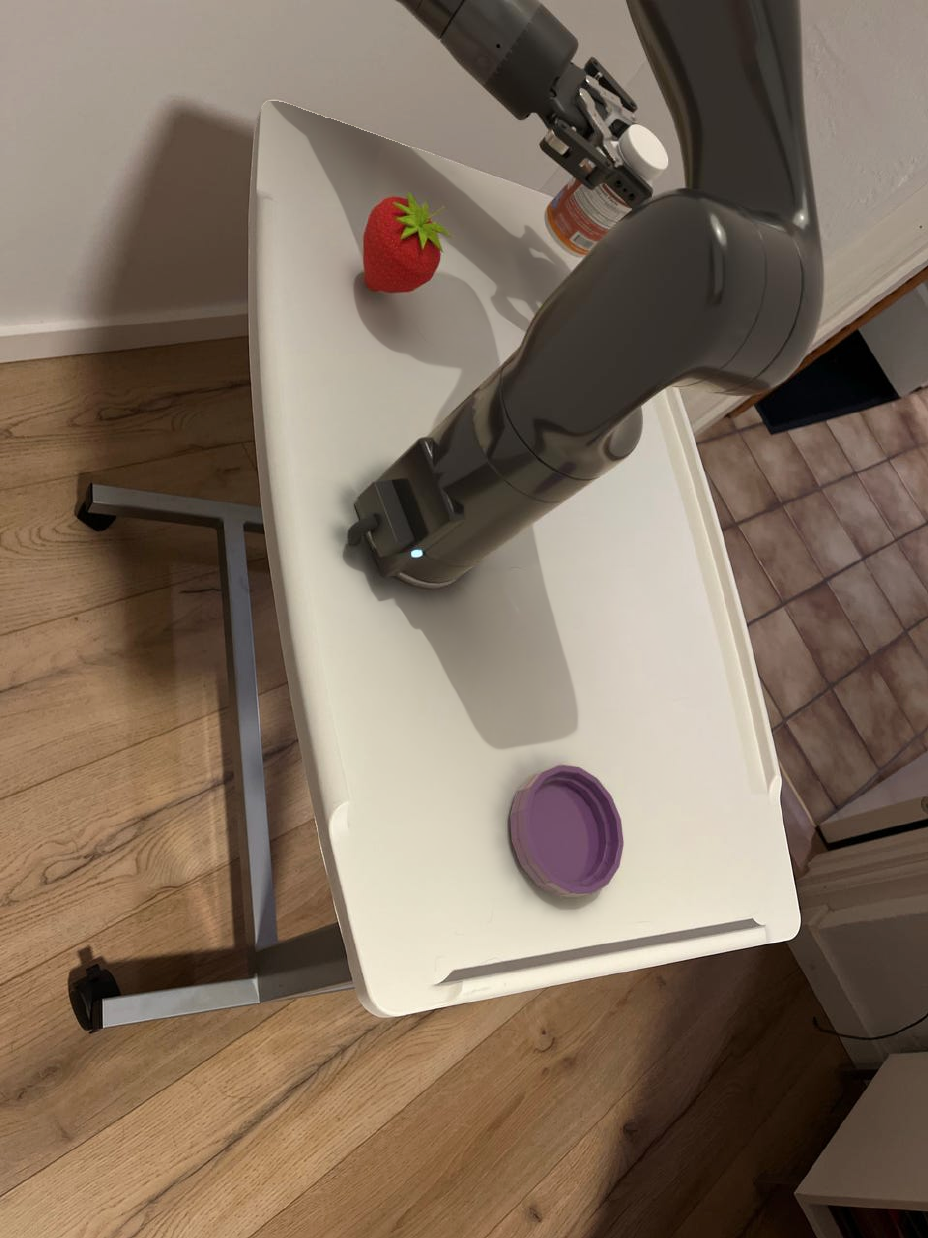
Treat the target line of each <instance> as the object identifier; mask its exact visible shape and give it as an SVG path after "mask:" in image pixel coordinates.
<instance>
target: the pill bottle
mask: <svg viewBox="0 0 928 1238" xmlns="http://www.w3.org/2000/svg"><path fill="white" fill-rule="evenodd" d="M610 141H611V144H612V145H613V147H614V148H615V150H616V151H617V152H618V154H619V155H620V157H621V159H622V161H623V162H624V161H625V162H626V163H627V164H628V165H629V166H630V167H631V168H632V169H633V170H634V171H635V172H636V173H637V174H638V175H639V176H640V177H641V178H643V179H644V180H645V181H646V182H647V183H648V184H649V185H650V186H651V187H652V188H653V181H654V180H656V179H658V178H659V177H660V176H661V175H662V173H663V172H665V170H667V168H668V166H669V158H668V157H669V156H668V153H667V151H666V148H665V147H664V146H663V144H662V143H661V141H660V140H659V139H658V137H657V136H656V135H655V134H654V133H653V132H652V131H650V130H649V129H648V128H647V127H645V126H643V125H640V124H634V125H631V126H630V127H629V128H628V129H627V130H626V131H625V132H624V133H623V134H622V136H621V137H620V139H619V141H618V142H617V141H612V140H610ZM599 152H600V153H602V154H603V155H604V153H603V152H602V150H600V151H599ZM604 156H605V155H604ZM605 157H606V156H605ZM581 167H582V168H583V169H585V170H586V171H587V172H588V173H589V171H588V169H587V168H586V166H585V165H584V164H582V166H581ZM631 210H632V208H631V207H629V206H628V205H627V204H626V203H625V202H624V201H623V200H622V199H621V198H620V197H619V196H618V195H617V194H616V193H615V192H614V191H613V190H612V189H611V188H610V187H608V186H607V185H606V184H605V183H604V184H603V185H598V186H596V188H595V189H594V190H589V189H588V188H587V187H585V186H584V185H583V184H582V183H581V182H579V181H578V180H577V179H576V178H575V177H573V176H571V178H570V179H569V181H567V183H566V184H565V185H564V186H563V187H562V188H561V190H559V192H558V193H557V194H556V195H555V196H554V197H553V198H552V200H551V201H549V203H548V204H547V206H546V208H545V210H544V215H543V216H544V224H545V227H546V229H547V232H548V234H549V235H550V237H551V239H552V240H553V241H554V242H555V243H556V245H557V246H558V247H559V248H561V249H562V251H565V252H566V253H567V254H569V255H570V256H573V257H574V258H575V257H576V258H580V259H583V258H584V257H585V256H586V255H587V254H588V253H589V252H590V250H591V249H592V248H593V247H594V246H595V245H596V244H597V243H598V242H599V241H600V239H601V238H602V237H603V236H604V235H605V234H606V233H607V232H608V231H609V230H610V229H611V228H612V227H613V226H614V225H615V224H616V223H617V222H618V221H619V220H620V219H621V218H622V217H624V216H625V215H626V214H627V213H628V212H630V211H631Z"/></svg>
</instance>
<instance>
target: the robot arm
mask: <svg viewBox="0 0 928 1238" xmlns="http://www.w3.org/2000/svg"><path fill="white" fill-rule="evenodd" d="M394 1H395V2H396V3H398V4H400V5H401V6H402V7H403V8H404V9H405V10H406V11H407V12H408V13H409V14H410V15H411V16H412V17H413V18H414V19H415V20H416V21H417V22H418V23H419V24H420V25H421V26H422V27H423V28H425V29H426V31H428V32H429V33H430V34H431V36H433V37H434V38H435V39H436V40H437V41H439V43H440V44H441V45H442V46H443V47H444V48H445V49H446V50H447V51H448V53H449V54H450V55H451V56H452V58H453V59H454V60H455V62H457V64H458V65H459V66H460V67H461V68H462V69H463V70H464V71H465V72H466V73H468V74H469V75H470V76H471V77H472V78H473V79H474V80H475V81H476V82H477V83H478V84H479V85H480V86H482V88H483V89H484V90H486V91H487V92H488V93H489V94H490V96H492V97H493V98H494V99H495V100H496V101H497V102H498V103H499V104H500V105H501V106H502V107H503V108H505V110H507V111H508V113H510V114H511V115H512V116H513V117H514V118H515V119H516V120H518V121H525V120H526V119H528V118H529V117H530V116H531V114H536V115H537V117H538V118H539V119H540V120H541V121H542V123H543V124H544V126H545V128H546V129H547V133H546V134H545V135H544V137H543V138H542V139H541V140H540V142H539V143H538V144H539V148H540V150H541V151H542V152H543V153H544V154H545V155H546V156H548V157H549V158H550V159H551V160H553V161H554V162H555V163H556V164H557V165H559V166H560V167H561V168H562V169H563V170H565V171H566V172H567V173H569V175H571V177H575V178H576V179H577V180H578V181H579V182H581V183H582V184H583V185H584V186H585V187H587V188H588V189H589V190H594V189H595V188H596V186H598V185H603V184H604V183H605V184H606V185H607V186H608V187H610V188H611V189H612V190H613V191H614V192H615V193H616V194H617V195H618V196H619V197H620V198H621V199H622V200H623V201H624V202H625V203H626V204H627V205H628V206H629V207H631V208H632V210H631V211H630V212H628V213H627V214H626V215H625V216H624V217H622V218H621V219H620V220H619V221H618V222H617V223H616V224H615V225H614V226H613V227H612V228H611V229H610V230H609V231H608V232H607V233H606V234H605V235H604V236H603V237H602V238H601V239H600V241H599V242H598V243H597V244H596V245H595V246H594V247H593V248H592V249H591V250H590V252H589V253H588V254H587V255H586V256H585V257H584V258H581V261H580V262H578V264H577V265H576V266H575V267H574V268H573V269H572V270H571V272H570V273H569V274H568V275H567V276H566V277H565V278H564V279H563V280H562V282H561V283H560V284H559V285H558V286H557V287H556V288H555V290H554V291H552V293H551V294H550V295H549V296H548V297H547V299H546V300H545V301H544V302H543V303H542V304H541V306H540V307H539V308H538V310H537V311H536V312H535V314H534V315H533V317H532V318H531V321H530V323H529V324H528V327H527V329H526V331H525V334H524V336H523V338H522V340H521V342H520V345H519V347H517V348H516V349H515V350H514V351H513V352H512V354H510V356H509V357H508V358H507V359H506V360H505V361H504V362H503V363H501V365H499V366H498V367H497V368H496V369H495V370H494V371H493V372H492V373H491V374H490V375H489V376H488V377H487V378H486V379H485V380H484V381H482V383H481V384H479V386H478V387H476V388H475V389H474V391H472V392H471V393H470V394H469V395H468V396H467V397H466V398H465V399H464V400H463V401H462V402H461V403H460V404H458V406H457V407H456V408H455V409H453V410H452V412H450V413H449V414H448V415H447V416H446V417H445V418H444V419H443V420H442V421H441V422H440V423H439V424H438V425H436V427H435V428H434V429H432V431H431V432H430V433H429V434H427V435H426V436H424V437H420V438H417V439H416V441H414V442H413V444H411V445H410V446H409V447H408V448H407V449H406V450H405V451H404V452H403V453H402V454H401V455H399V457H398V458H397V459H396V460H395V461H394V462H393V463H392V464H391V465H390V466H389V467H388V468H387V469H386V470H385V471H384V472H383V473H382V474H380V476H379V477H378V478H376V479H375V481H373V482H372V483H371V484H370V485H368V486H367V487H366V488H365V489H364V490H363V491H362V492H361V493H360V494H359V495H358V496H357V498H356V499H355V500H354V507H355V509H356V511H357V514H358V516H359V520H358V521H356V522H355V523H353V525H351V526H350V527H349V528H348V530H347V535H346V539H347V540H346V541H347V542H346V543H348V545H349V546H351V547H358V546H359V545H360V544H361V541H362V536H364V535H365V536H366V537H365V538H366V539H367V543H368V545H369V546H370V548H371V551H372V554H373V557H374V560H375V562H376V565H377V567H378V571H379V572H380V574H381V576H382V577H384V578H389V577H396V578H398V579H399V580H401V581H403V582H405V583H407V584H409V585H412V586H414V587H418V588H422V589H441V588H444V587H447V586H449V585H451V584H453V583H454V582H456V581H458V580H459V579H460V578H461V577H462V576H463V575H464V574H465V573H466V572H468V571H469V570H470V569H472V568H473V567H475V566H476V565H478V564H479V563H481V562H482V561H483V560H484V559H486V558H487V557H488V556H490V555H492V554H493V553H494V552H496V551H497V550H499V549H500V548H501V547H503V546H504V545H505V544H507V543H508V542H510V541H511V540H512V539H514V538H515V537H517V536H518V535H519V534H521V533H523V532H524V531H525V530H526V529H529V528H530V527H531V526H532V525H534V524H535V523H537V522H538V521H540V520H541V519H542V518H544V517H545V516H546V515H548V514H550V513H551V512H553V510H556V508H558V507H559V506H560V505H562V504H563V503H565V502H566V501H567V500H570V499H571V498H572V497H574V496H575V495H577V494H578V493H580V492H581V491H582V490H583V489H585V488H586V487H588V486H589V485H590V484H592V483H594V482H595V481H597V479H599V478H601V477H602V476H604V475H605V474H607V473H608V472H610V471H611V470H613V469H614V468H616V467H617V466H618V465H620V464H621V463H623V462H624V461H625V460H626V459H627V458H629V456H631V455H632V453H634V451H635V449H636V448H637V446H638V444H639V442H640V440H641V437H642V433H643V426H644V425H643V424H644V414H643V409H642V407H643V406H644V405H645V404H646V403H647V402H649V401H650V400H652V399H653V398H654V397H655V396H656V395H658V394H659V393H661V392H663V391H664V390H665V389H667V388H669V387H670V388H678V389H683V390H690V391H694V392H695V391H696V392H702V393H708V394H717V395H725V396H730V397H751V396H757V395H760V394H764V393H767V392H768V391H771V390H773V389H775V388H776V387H777V386H779V385H781V384H782V383H784V382H785V381H787V380H788V378H789V377H790V376H791V375H792V374H794V372H795V371H796V370H797V369H798V368H799V367H800V366H801V363H802V362H803V360H804V359H805V358H806V356H807V354H808V353H809V351H810V349H811V347H812V345H813V343H814V341H815V338H816V335H817V333H818V329H819V326H820V323H821V318H822V313H823V307H824V300H825V288H826V287H825V285H826V283H825V282H826V281H825V280H826V279H825V277H826V276H825V262H824V249H823V244H822V243H823V241H822V234H821V227H820V220H819V212H818V205H817V198H816V197H817V196H816V190H815V182H814V175H813V169H812V168H813V167H812V160H811V153H810V145H809V135H808V127H807V118H806V106H805V105H806V104H805V87H804V85H805V83H804V48H803V47H804V45H803V42H804V41H803V39H804V38H803V13H802V12H803V11H802V0H625V4H626V7H627V9H628V13H629V16H630V18H631V22H632V24H633V27H634V29H635V32H636V35H637V37H638V39H639V42H640V45H641V48H642V50H643V53H644V55H645V57H646V59H647V62H648V64H649V67H650V69H651V72H652V75H653V76H654V79H655V81H656V84H657V86H658V89H659V91H660V92H661V93H660V94H661V95H662V97H663V99H664V103H665V105H666V107H667V111H668V113H669V116H670V117H671V121H672V124H673V126H674V129H675V133H676V137H677V140H678V144H679V149H680V154H681V155H680V156H681V160H682V161H681V162H682V166H683V177H684V187H677V188H671V189H666V190H663V191H661V192H659V193H656V194H654V189H653V186H652V187H651V186H650V185H649V184H648V183H647V182H646V181H645V180H644V179H643V178H641V177H640V176H639V175H638V174H637V173H636V172H635V171H634V170H633V169H632V168H631V167H630V166H629V165H628V164H627V163H626V162H625V161H624V162H623V161H622V159H621V157H620V155H619V154H618V152H617V151H616V150H615V148H614V147H613V145H612V144H611V141H617V142H618V141H619V139H620V137H621V136H622V134H623V133H624V132H625V131H626V130H627V129H628V128H629V127H630V126H631V125H634V124H637V125H639V123H640V120H639V118H638V116H637V115H636V114H635V112H636V111H637V110H638V105H637V103H636V101H634V99H633V98H632V97H631V96H630V95H629V94H628V93H627V91H625V89H624V88H623V87H622V85H620V84H619V83H618V81H617V80H616V79H615V78H614V77H613V76H612V75H611V74H610V73H609V71H607V69H606V68H605V67H604V66H603V65H602V63H600V61H599V60H598V59H597V58H595V57H594V56H591V57H589V59H587V61H586V62H585V63H584V64H583V65H582V67H579V66H578V65H576V64H575V63H574V62H572V60H573V59H574V57H575V55H576V54H577V51H578V50H579V40H578V38H577V37H576V36H575V35H574V34H573V33H572V31H570V30H569V29H568V28H567V27H566V26H565V25H564V24H563V22H561V21H560V20H559V19H558V18H557V17H556V16H555V15H554V13H552V12H551V11H550V10H549V9H548V8H547V7H546V6H545V5H544V4H543V3H542V2H541V0H394ZM600 150H602V152H603V153H604V155H605V156H606V157H605V156H604V155H603V154H602V153H600V152H599V151H600ZM581 165H582V166H583V165H585V166H586V168H587V169H588V171H589V173H588V172H587V171H586V170H585V169H583V168H582V166H581ZM653 194H654V195H653Z"/></svg>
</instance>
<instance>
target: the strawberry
mask: <svg viewBox="0 0 928 1238" xmlns="http://www.w3.org/2000/svg"><path fill="white" fill-rule="evenodd" d="M406 195H407V197H401V196H387V197H385V198H383V199H382V200H381V201H380V202H379V203H378V204H376V205H375V206H374V207H373V208H372V209H371V211H370V214H369V216H368V220H367V223H366V226H365V229H364V232H363V239H362V264H363V270H364V282H365V285H366V287H367V289H368V290H369V291H372V292H374V293H375V292H377V293H378V292H380V293H386V294H403V293H404V294H405V293H411V292H413V291H415V290H416V289H417V290H418V289H419V288H420V287H422V286H424V285H425V284H427V283H429V282H430V281H431V280H432V278H433V277H434V275H435V273H436V271H437V269H438V268H439V265H440V263H441V256H442V253H444V250H443V247H442V244H441V240H440V237H439V234H441V235H444V236H447V237H451V238H453V237H454V236H453V235H452V234H451V233H450V232H449V231H447V230H446V229H445V228H444V227H443V226H442V225H441V224H440V223H438V222H433V221H432V219H431V218H432V217H433V216H435V215H436V214H437V213H439V212H440V211H442V210H443V209H444V208H445V206H444V205H443V206H442V207H440V208H438V209H437V210H436V211H434V212H433V213H432V214H430V212H429V206H428V205H429V204H428V201H426V202H424V204H423V205H422V207H420V205H419V204H418V202H416V200H415V199H414V197H413V196H412V194H410V192H409V191H407V192H406ZM438 233H439V234H438ZM441 252H442V253H441Z"/></svg>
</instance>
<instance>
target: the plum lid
mask: <svg viewBox="0 0 928 1238" xmlns="http://www.w3.org/2000/svg"><path fill="white" fill-rule="evenodd" d="M509 820H510V835H511V843H512V847H513V848H514V852H515V854H516V856H517V859H518V862H519V864H520V867H521V868H522V869H523V870H524V871H525V872H526V874H527V875H528V876H529V878H530V879H531V881H533V882H534V884H535V885H536V886H537V887H539V888H540V889H542V890H544V891H546V892H548V893H550V894H552V895H553V896H555V897H565V898H566V897H567V898H568V897H571V898H576V897H577V898H578V897H582V896H588V895H592V894H594V893H596V892H598V891H599V890H601V889H603V888H605V887H606V886H608V885H609V884H610V882H611V881H612V879H613V877H614V876H615V874H616V873H617V872H618V870H619V868H620V865H621V862H622V861H621V860H622V855H623V850H624V845H625V844H624V843H625V842H624V841H625V840H624V833H623V825H622V818H621V815H620V813H619V811H618V809H617V806H616V803H615V802H614V798H613V796H612V795H611V794H610V792H609V791H608V789H606V787H605V786H604V784H602V782H601V781H600V780H599V778H597V777H596V776H594V775H593V774H592V773H589V772H588V771H587V770H585V769H583V768H581V767H580V766H576V765H567V764H558V765H555V766H552V767H549V768H547V769H543V770H541V771H538V772H537V773H534V774H532V775H530V776H528V777H527V778H526V780H525V781H524V782H523V783H522V785H521V786H520V787H519V788H518V790H517V791H516V793H515V795H514V799H513V802H512V807H511V811H510V815H509Z"/></svg>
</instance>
